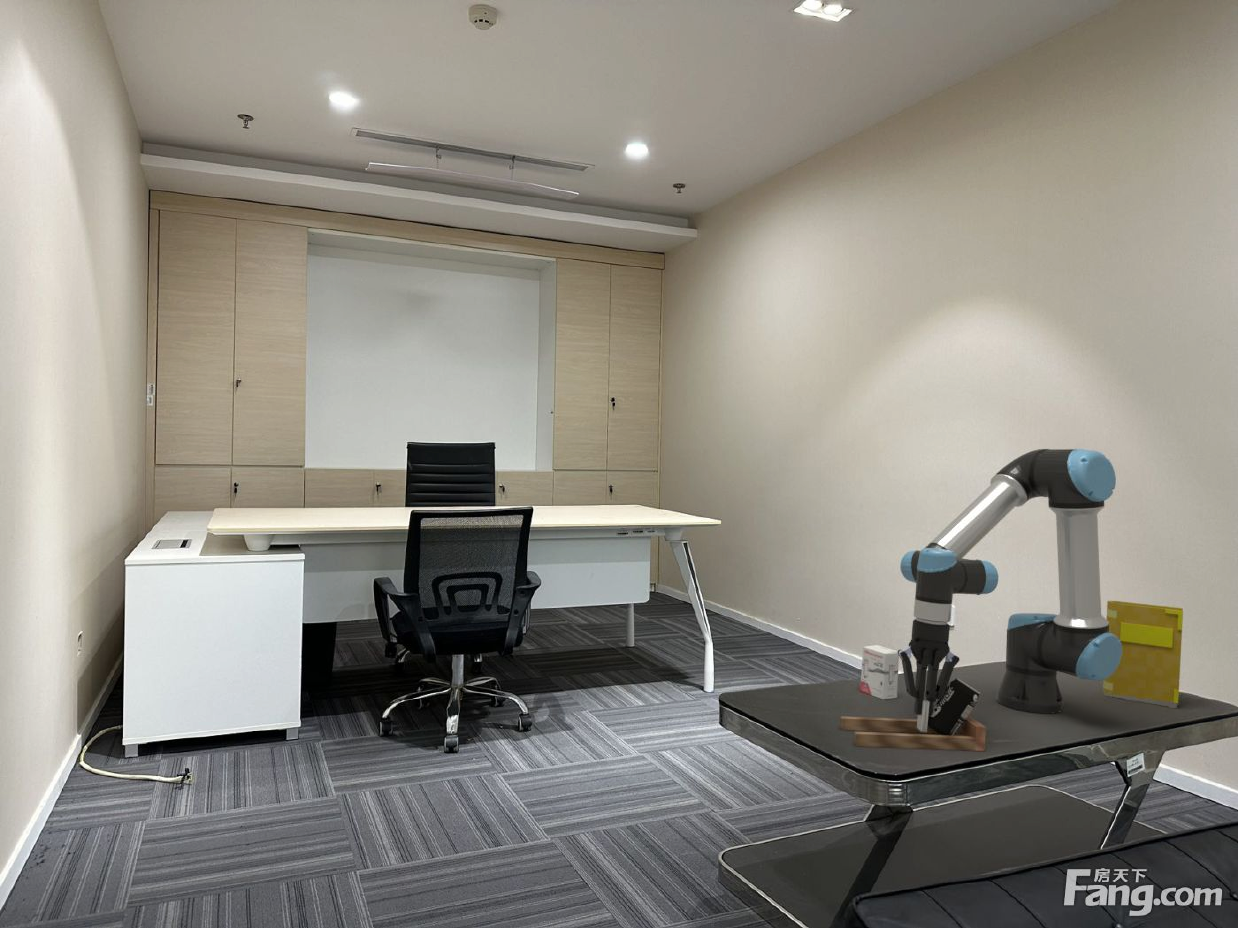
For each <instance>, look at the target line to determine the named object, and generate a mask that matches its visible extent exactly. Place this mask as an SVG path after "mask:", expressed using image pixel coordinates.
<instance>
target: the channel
mask: <svg viewBox="0 0 1238 928" xmlns="http://www.w3.org/2000/svg"><path fill="white" fill-rule="evenodd" d="M917 719H918V718H917ZM917 719H915V718H914V719H912V718H889V717H888V718H887V717H867V716H866V717H865V716H840V717H839V728H840V730H841V731H853V745H854V746H855V747H871V748H872V747H875V748H876V747H877V748H895V749H896V748H899V749H920V750H921V749H922V750H923V749H924V750H925V749H926V750H946V751H947V750H948V751H949V750H951V751H969V752H970V751H971V752H972V751H974V752H985V749H986V731H987V729H986V728H987V727H986V726H985V725H983V724H982V723H980V722H979V721H978V720H976V719H975V718H974V717H972V716H971V715H969V716H968V718H967V719H966V721H965V722H964V724H963V725H962V727H961V728H960V730H959V731H958V733H957V734H956V736H950V735H940V734H939V733H937V732H936V731H934V730H933V729H932V728H930V727H929V726H928V725H927V732H921V731H920V730H919V729H918V728H917Z"/></svg>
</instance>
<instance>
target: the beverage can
mask: <svg viewBox="0 0 1238 928" xmlns="http://www.w3.org/2000/svg"><path fill="white" fill-rule="evenodd" d="M981 694H982V693H981V692H979V691H978V690H977V689H975V688H974V687H972V686H971V685H970V684H967V683H966V682H964V681H963V680H962V679H960V678H958V677H955V679H954V680H951V681H949V683H948V685H947V688H946V691H945V694H944V697H943V698H942V699H937V700H936V702H935V703H934V704H935V705H933V714H932V716H928V724H927V725H928V726H929V727H930V728H932V729H933V730H934V731H936V732H937V733H939V734H938V735H950V736H956V734H957V733H958V731H959V730H960V728H961V727H962V725H963V724H964V722H965V721H966V719H967V718H968V716H971V713H972V712H973V709H974V708H975V707H976V705H977V704H978V702H979V701H980V700H979V699H980V695H981Z"/></svg>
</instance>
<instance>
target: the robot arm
mask: <svg viewBox="0 0 1238 928" xmlns="http://www.w3.org/2000/svg"><path fill="white" fill-rule="evenodd" d="M1116 476H1117V475H1116V472H1115V469H1114V466H1113V465H1112V462H1111V461H1110V459H1109V458H1108V457H1107V456H1105V454H1103V453H1101V452H1100V451H1097V450H1090V449H1089V450H1088V449H1084V448H1075V449H1074V448H1069V449H1068V448H1067V449H1061V448H1059V449H1058V448H1057V449H1056V448H1055V449H1054V448H1053V449H1052V448H1051V449H1050V448H1040V449H1036V450H1035V449H1034V450H1031V451H1028V452H1026V453H1025V454H1022V455H1020V456H1018V457H1017V458H1015V459H1013V460H1012V461H1010V462H1009V463H1008V464H1006V465H1005V466H1004V467H1002V468H1001V469H1000V470H999V471H997V473H995V474H994V475H993V476H992V478H991V479H990V481H989V482H990V485H989V486H988V487H987V488H986V489H984V491H983V492H982V493H980V494H979V496H977V497H976V498H975V499H974V500H973V501H972V502H971V503H970V504H969V505H968V506H967V507H966V508H965V509H964V510H963V511H962V512H961V513H960V514H959V515H958V516H956V518H955V519H954V520H952V521H951V522H950V523H949V524H947V526H946V527H945V528H944V529H943V530H941V532H939V533H938V535H937V536H936V537H935V538H933V540H931V541H930V542H929V543H928V545H926V546H925V547H923V548H921V549H920V550H911V551H908V552H906V553H904V555H903V556H902V558H901V561H900V572H901V574H902V576H903V578H904V579H905V580H907V581H909V582H911V583H914V584H915V598H914V606H913V617H914V619H913V620H912V625H911V626H912V627H911V638H910V641H909V643H908V646H907V647H905V648H904V649H898V650H897V651H898V655H899V659H900V660H901V665H902V671H903V677H904V682H905V690H906V693H907V695H910V697H912V698H914V709H913V712H914V713H915V715H917V728H918V729H919V730H920V731H921V732H927V724H928V716H932V714H933V707H934V704H935V703H937V701H938V700H939V699H942V698H943V697H944V694H945V691H946V688H947V686H948V685H949V683H950V679H951V677H952V674H953V672H954V668H955V666H957V664H958V663H959V662H960V657H959V656H957V655H956V654H954V653H953V652H951V650H950V649H951V648H950V646H949V640H950V639H949V638H950V629H951V627H950V626H951V625H950V624H949V622H951V619H952V606H953V604H952V603H953V598H954V597H953V596H954V595H955V594H959V595H960V594H961V595H976V596H980V595H987V594H991V593H993V592H994V591H995V590H996V588H997V586H998V585H999V572H998V570H997V568H996V566H995V565H994V564H993V563H992V562H990V561H988V560H982V559H969V558H968V559H967V558H964V557H965V556H966V555H967V554H968V553H969V552H971V550H972V549H973V548H974V547H975V546H977V544H979V543H980V542H981V540H982V539H983V538H985V536H987V535H988V534H989V533H990V532H991V531H992V530H993V529H994V528H995V527H996V526H997V525H998V524H999V523H1000V522H1001V521H1002V520H1003V519H1004V518H1005V517H1006V516H1007V515H1009V513H1010V512H1011V511H1012V510H1013V509H1014V508H1015V507H1017V508H1018V507H1022V506H1024V505H1025V504H1026V503H1027V502H1028V501H1030V500H1032V499H1035V498H1039V497H1041V498H1047V499H1048V500H1047V501H1048V508H1049V509H1050V510H1051V511H1052V512H1053V513H1054V514H1055V520H1056V521H1055V522H1056V546H1057V549H1056V550H1057V567H1058V592H1059V593H1058V594H1059V595H1058V597H1059V613H1058V614H1054V613H1039V612H1038V613H1037V612H1036V613H1034V612H1033V613H1032V612H1031V613H1030V612H1029V613H1026V612H1025V613H1021V612H1020V613H1014V614H1011V615H1010V616H1009V618H1008V620H1007V628H1006V645H1005V649H1006V650H1005V651H1006V652H1005V653H1006V654H1005V670H1004V674H1003V676H1002V679H1001V680H1000V683H999V685H998V688H997V691H996V701H997V703H999V704H1000V705H1002V706H1006V707H1008V708H1011V709H1014V710H1018V711H1024V712H1029V713H1036V714H1037V713H1038V714H1053V713H1052V712H1058V713H1060V712H1059V711H1061V712H1063V711H1062V710H1064V700H1063V696H1062V693H1061V688H1060V686H1059V682H1058V677H1057V675H1058V673H1057V672H1059V673H1063V674H1066V675H1070V676H1073V677H1077V678H1079V679H1081V680H1090V681H1093V682H1101V681H1103V680H1105V679H1107V678H1108V677H1110V676H1111V675H1112V674H1113V673H1114V671H1115V669H1116V668H1117V667H1118V665H1119V663H1120V660H1121V656H1122V645H1121V642H1120V640H1119V639H1118V637H1117V636H1115V635H1114V634H1112V633H1109V622H1108V620H1107V618H1105V617H1104V616H1103V615H1102V604H1101V603H1102V600H1101V577H1100V553H1099V552H1100V550H1099V527H1098V526H1099V521H1098V514H1099V513H1100V512H1101V511H1102V510H1103V509H1104V508H1105V501H1106V500H1108V499H1109V498H1111V496H1112V495H1113V493H1114V491H1113V490H1115V489H1116V483H1117V482H1116V480H1117V479H1116ZM912 655H913V656H912ZM912 657H914V659H915V661H916V662H915V665H916V672H915V673H916V674H915V679H914V671H913V668H912V667H913V665H912V661H911V658H912ZM944 659H945V661H944V663H943V666H942V669H941V671H940V674H939V677H938V672H939V669H940V663H942V661H943V660H944Z"/></svg>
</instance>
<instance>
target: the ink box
mask: <svg viewBox="0 0 1238 928" xmlns="http://www.w3.org/2000/svg"><path fill="white" fill-rule="evenodd" d="M899 660H900V657H899V655H898V650H895V649H891V648H889V647H885V646H882V645H878V644H874V645H868V646H867V645H866V646H863V647H862V660H861V674H860V676H861V677H860V692H863V693H864V694H867V695H871V696H872V697H876V698H878V699H881V700H891V699H897V697H898V683H899V682H898V681H899V667H900V666H899V665H900V661H899Z"/></svg>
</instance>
